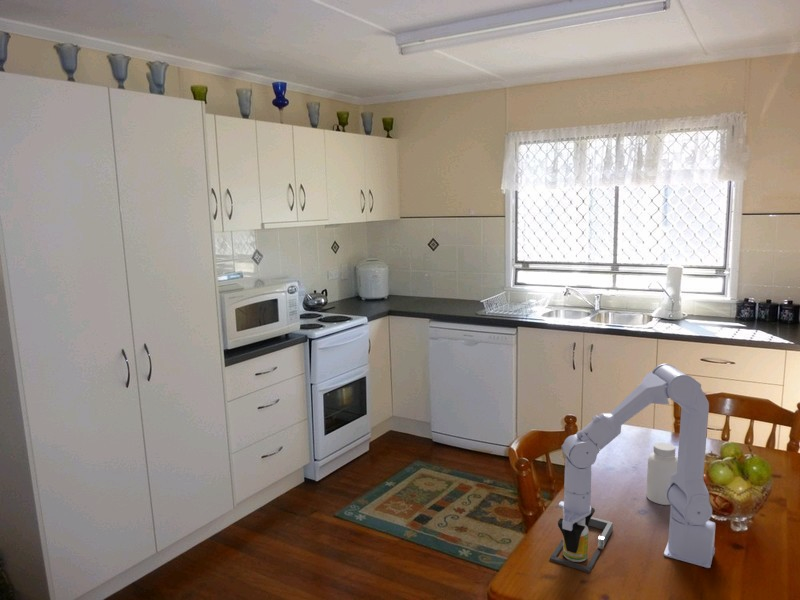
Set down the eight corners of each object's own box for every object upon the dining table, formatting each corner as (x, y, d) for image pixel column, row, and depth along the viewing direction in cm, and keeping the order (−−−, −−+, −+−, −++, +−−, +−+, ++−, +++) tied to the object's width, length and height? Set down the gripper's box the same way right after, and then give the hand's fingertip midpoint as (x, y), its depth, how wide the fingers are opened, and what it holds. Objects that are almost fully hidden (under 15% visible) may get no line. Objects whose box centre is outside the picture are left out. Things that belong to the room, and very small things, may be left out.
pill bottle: (645, 503, 161) (648, 449, 158) (646, 489, 168) (648, 438, 165) (678, 508, 158) (682, 454, 155) (677, 494, 165) (680, 442, 162)
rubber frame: (600, 553, 139) (600, 550, 138) (589, 572, 132) (589, 570, 131) (561, 542, 143) (561, 539, 143) (549, 560, 136) (549, 557, 136)
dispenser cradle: (612, 529, 148) (613, 520, 148) (602, 549, 140) (603, 539, 140) (575, 519, 153) (575, 511, 153) (563, 538, 145) (563, 528, 145)
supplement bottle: (588, 564, 135) (589, 524, 133) (563, 561, 136) (564, 521, 134) (586, 550, 140) (587, 511, 138) (562, 547, 141) (563, 509, 139)
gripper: (569, 472, 143) (568, 524, 145) (549, 498, 131) (548, 555, 133) (600, 479, 139) (598, 533, 142) (581, 506, 127) (579, 565, 130)
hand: (575, 544), depth 137 cm, fingers open, 5 cm apart
